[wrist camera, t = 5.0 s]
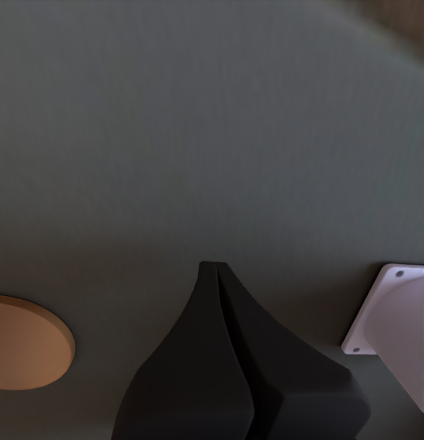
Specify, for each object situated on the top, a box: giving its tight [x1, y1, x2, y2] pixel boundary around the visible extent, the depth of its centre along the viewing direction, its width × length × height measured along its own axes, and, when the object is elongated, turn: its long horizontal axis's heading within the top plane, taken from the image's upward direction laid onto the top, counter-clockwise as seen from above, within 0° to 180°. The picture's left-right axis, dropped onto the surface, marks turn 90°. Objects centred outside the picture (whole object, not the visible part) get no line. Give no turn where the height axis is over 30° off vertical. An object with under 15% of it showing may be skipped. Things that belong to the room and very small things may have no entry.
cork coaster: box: [0, 295, 75, 390], centre depth 14 cm, size 8×8×1 cm
